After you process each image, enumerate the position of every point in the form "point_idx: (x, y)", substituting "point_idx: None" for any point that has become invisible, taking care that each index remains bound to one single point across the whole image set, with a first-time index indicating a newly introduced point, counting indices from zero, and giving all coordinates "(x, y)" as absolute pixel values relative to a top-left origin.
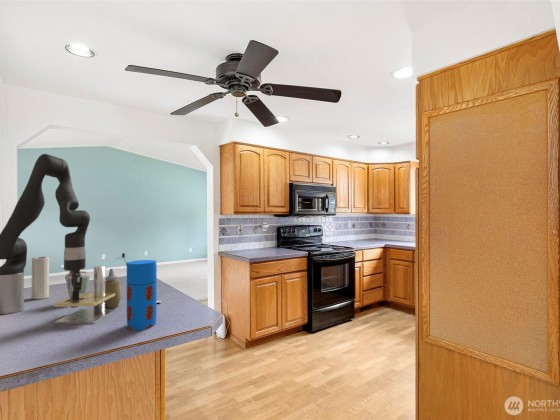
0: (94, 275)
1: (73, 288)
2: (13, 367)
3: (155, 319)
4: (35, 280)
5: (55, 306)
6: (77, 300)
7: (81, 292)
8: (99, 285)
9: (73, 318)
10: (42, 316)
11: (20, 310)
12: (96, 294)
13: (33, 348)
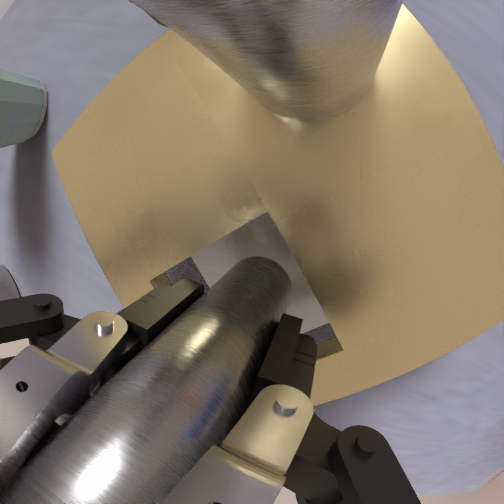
0: None
1: (303, 499)
2: (469, 486)
3: None
4: None
5: None
6: (281, 311)
7: (8, 102)
8: (398, 11)
9: (287, 273)
10: (95, 294)
11: (15, 285)
12: (347, 105)
13: (434, 462)
